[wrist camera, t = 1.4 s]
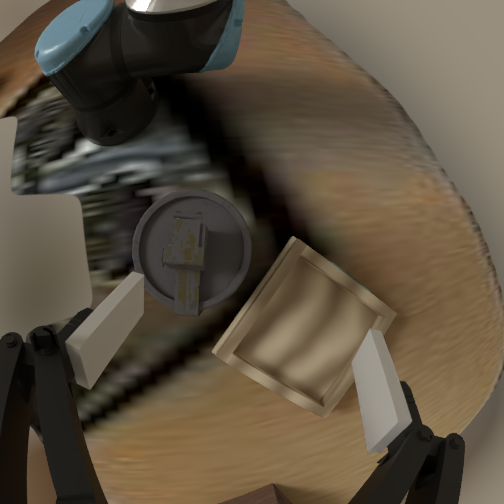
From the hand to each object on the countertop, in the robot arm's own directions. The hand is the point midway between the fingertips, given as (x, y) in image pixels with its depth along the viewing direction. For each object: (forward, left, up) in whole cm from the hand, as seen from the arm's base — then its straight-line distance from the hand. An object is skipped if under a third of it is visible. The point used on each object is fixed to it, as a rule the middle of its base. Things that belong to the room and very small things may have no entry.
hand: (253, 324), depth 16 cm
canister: (-7, +1, -26) cm, 27 cm away
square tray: (+11, +1, -26) cm, 28 cm away
